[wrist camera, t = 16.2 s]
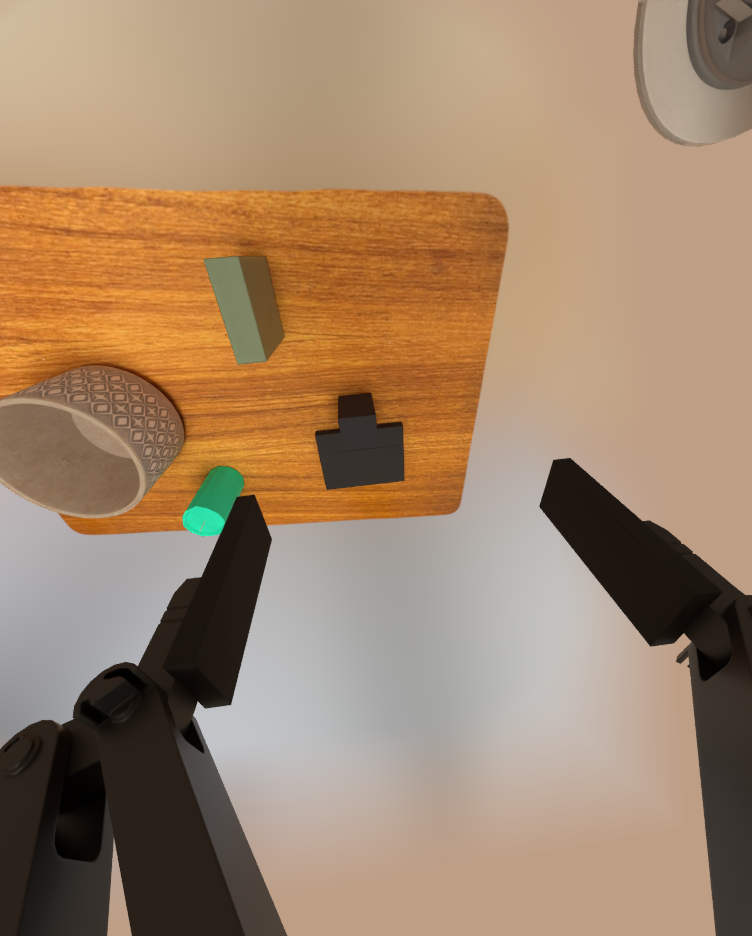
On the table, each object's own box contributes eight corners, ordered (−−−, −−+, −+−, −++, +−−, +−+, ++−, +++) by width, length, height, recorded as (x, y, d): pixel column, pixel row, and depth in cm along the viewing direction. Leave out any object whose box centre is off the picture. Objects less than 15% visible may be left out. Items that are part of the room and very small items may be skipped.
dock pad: (401, 421, 50) (402, 425, 49) (403, 475, 56) (404, 480, 55) (315, 431, 50) (315, 435, 49) (327, 484, 56) (326, 489, 55)
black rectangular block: (371, 392, 47) (375, 414, 40) (375, 438, 52) (379, 464, 45) (338, 396, 47) (337, 418, 40) (345, 441, 51) (346, 468, 45)
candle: (247, 471, 53) (225, 520, 43) (241, 497, 56) (219, 548, 46) (209, 461, 51) (178, 510, 41) (205, 488, 54) (175, 540, 44)
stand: (266, 256, 36) (238, 255, 27) (284, 337, 41) (267, 361, 32) (240, 258, 36) (202, 259, 26) (262, 339, 41) (237, 364, 32)
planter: (151, 353, 41) (87, 385, 31) (206, 455, 50) (171, 507, 40) (30, 372, 41) (-76, 412, 31) (107, 471, 50) (46, 527, 40)
